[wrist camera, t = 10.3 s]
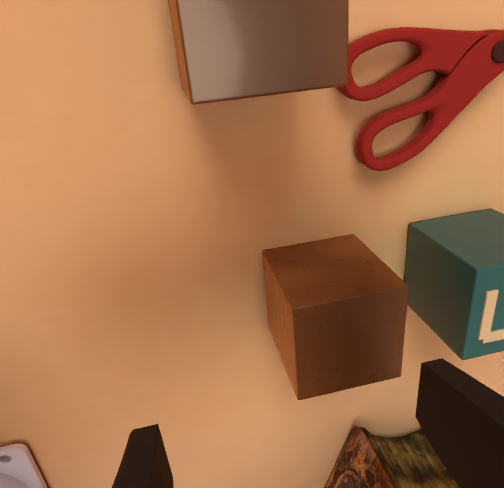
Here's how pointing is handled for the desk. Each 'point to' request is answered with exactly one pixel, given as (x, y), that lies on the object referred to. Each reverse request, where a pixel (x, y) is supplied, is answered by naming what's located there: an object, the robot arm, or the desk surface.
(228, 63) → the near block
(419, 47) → the scissors
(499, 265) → the block
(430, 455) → the book
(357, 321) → the block
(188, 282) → the desk surface
